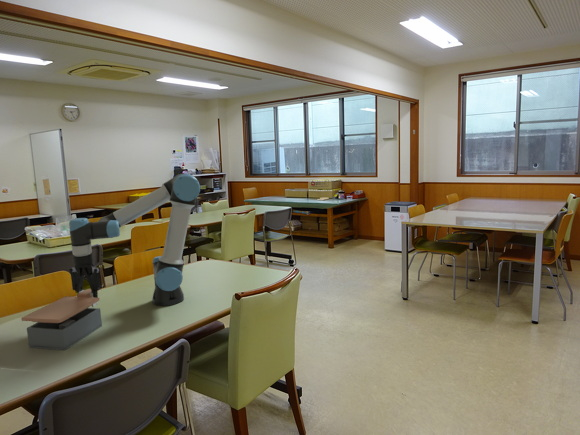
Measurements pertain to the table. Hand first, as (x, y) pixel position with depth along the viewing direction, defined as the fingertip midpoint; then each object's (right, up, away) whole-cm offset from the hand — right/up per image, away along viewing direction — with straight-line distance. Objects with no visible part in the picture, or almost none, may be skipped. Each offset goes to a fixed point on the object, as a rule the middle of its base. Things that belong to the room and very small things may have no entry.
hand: (88, 305), depth 182 cm
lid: (-2, +1, -12) cm, 12 cm away
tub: (-3, -10, -13) cm, 16 cm away
